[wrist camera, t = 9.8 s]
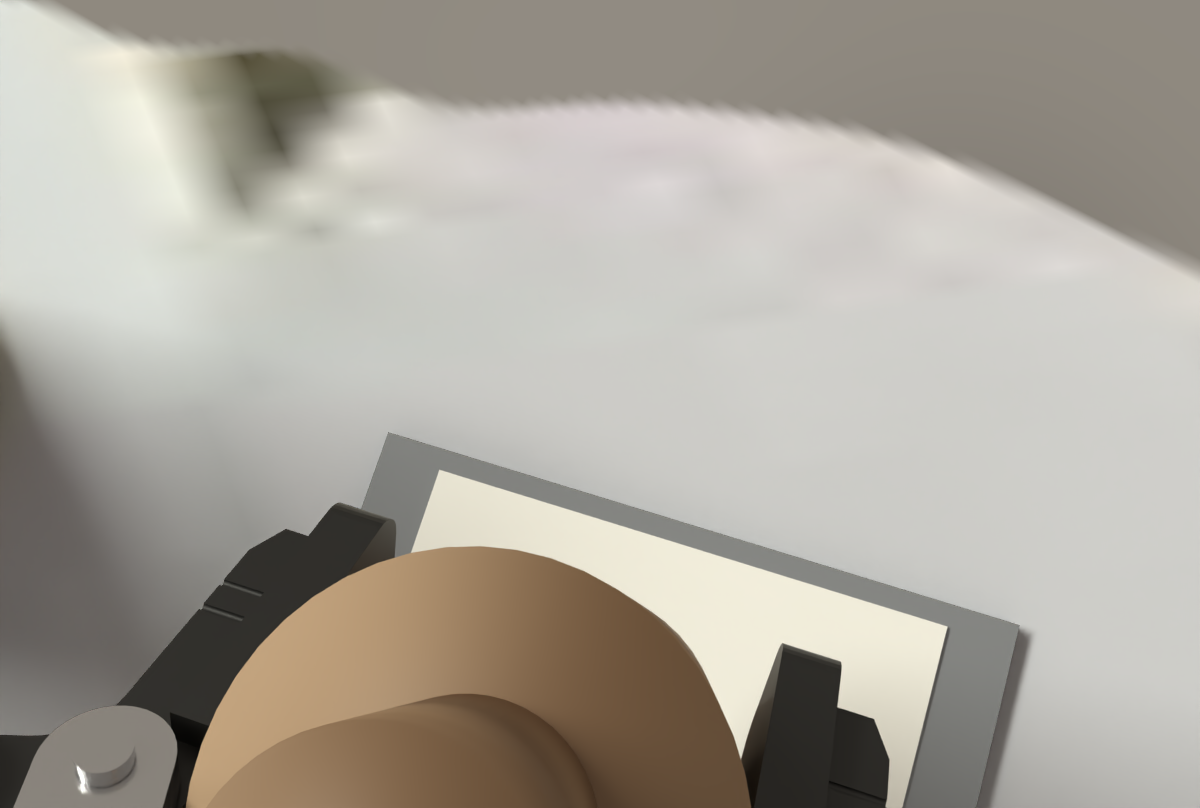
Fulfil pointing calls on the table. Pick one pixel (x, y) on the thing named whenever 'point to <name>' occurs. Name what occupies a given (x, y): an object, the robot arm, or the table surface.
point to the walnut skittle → (470, 697)
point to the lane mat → (736, 609)
